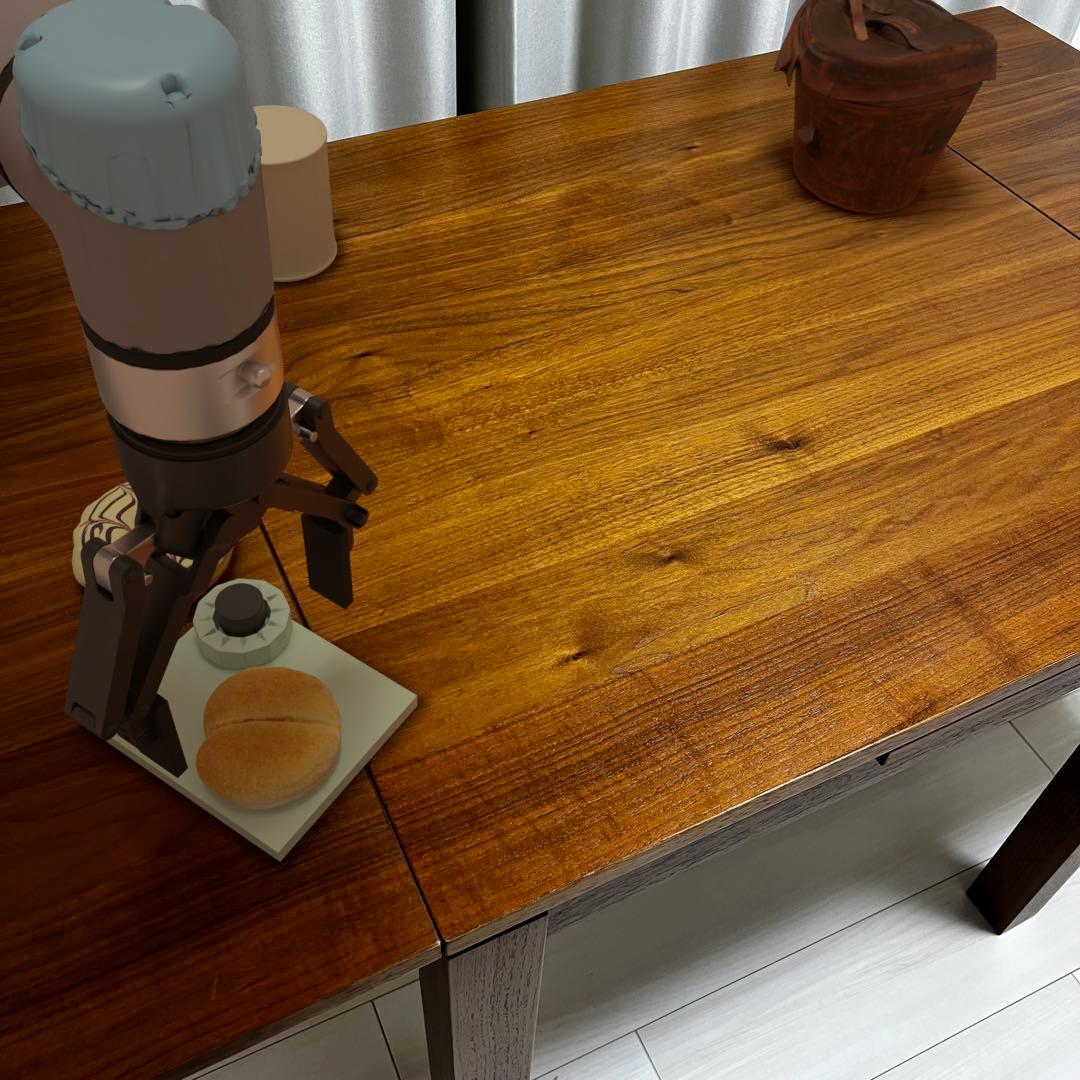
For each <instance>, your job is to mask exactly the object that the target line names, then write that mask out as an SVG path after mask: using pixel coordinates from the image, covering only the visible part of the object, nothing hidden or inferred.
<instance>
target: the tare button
mask: <svg viewBox="0 0 1080 1080" xmlns="http://www.w3.org/2000/svg"><path fill="white" fill-rule="evenodd" d="M215 610H216V614H217V618H218V623H219V626H220V627H221V629H222V630H223V631H224V632H226V633H227V634H229V635H232V636H237V637H242V636H248V635H251V634H253V633H255V632H257V631H258V630H259V629H260V628H261V627H262V626H263V625H264V623H265V620H266V610H265V604H264V599H263V595H262V593H261V591H260V590H259V589H258V588H256V587H255V586H253V585H250V584H246V583H237V584H233V585H230V586H228V587H226V588H224V589H223V590H222V591H221V592H220V593H219V594H218V595H217V597H216V599H215Z"/></svg>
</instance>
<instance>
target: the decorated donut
mask: <svg viewBox="0 0 1080 1080" xmlns="http://www.w3.org/2000/svg"><path fill="white" fill-rule="evenodd" d="M136 511H137V498H136V496H135V494H134V492H133V490H132V488H131V486H130V485H129V483H128V481H127V482H124V483H120V484H118V485H117V486H115V487H114V488H111V489H110V490H108V491H107V492H104V494H103V495H102V496H100V497H99V498H98V499H96V500H95V501H93V502H91V503H90V504H89V505H88V506H86V507H85V509H84V510H83V512H82V514H81V515H80V523H78V525H77V526H76V527H75V528H74V530H73V532H72V542H73V549H72V558H71V567H72V573H73V576H74V579H75V580H76V581H77V583H79V584H80V585H81V586H82V587H84V588H85V584H86V583H85V578H84V573H83V567H82V562H81V557H80V555H81V550H82V547H83V546H84V544H85V543H86V542H87V541H88V540H89V539H91V538H93V537H99V538H101V539H102V540H104V541H106V542H107V543H109V544H112V543H113V542H115V541H116V540H117V539H119V538H120V537H122V536H123V535H125V534H126V533H127V532H129V531H130V530H132V529H133V528H135V527H134V520H135V515H136ZM234 548H235V546H234V547H233V548H232V549H231V550H230V552H229V553H227V554H226V555H225V556H224V557H223V558H222V559H221V560H220V561H219V562H218V565H217V567H216V570H215V573H214V575H213V578H212V580H211V583H210V585H209V588H208V589H207V590H209V589H210V588H211V587H213V585H214V584H215V583H216V582H217V581H218V580H219V579H220V577H221V576H222V575H223V573H224V572H225V571H226V570H227V568H228V567H229V565H230V561H231V558H232V557H233V552H234ZM167 555H168V556H169V557H170V558H171V559H173V560H175V561H176V562H178V563H179V564H181V565H183V566H184V567H186V568H187V569H189V570H190V568H191V565H192V562H193V560H189V559H185V558H182V557H178V556H175V555H171V554H168V553H167ZM205 594H206V592H204V593H200V594H197V595H196V596H195V598H194V600H193V603H195V602H196V601H197V600H198V599H199V598H200V597H201V596H202V595H205Z"/></svg>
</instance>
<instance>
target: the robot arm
mask: <svg viewBox="0 0 1080 1080" xmlns="http://www.w3.org/2000/svg"><path fill="white" fill-rule="evenodd" d="M251 101H252V100H251V97H250V91H249V86H248V81H247V75H246V69H245V64H244V59H243V55H242V53H241V49H240V47H239V45H238V43H237V41H236V40H235V38H234V36H233V35H232V33H231V32H230V30H228V29H227V27H226V26H225V25H224V24H223V23H222V22H221V21H220V20H218V19H217V18H216V17H214V15H211V14H210V13H208V12H207V11H205V10H203V9H201V8H200V7H199V6H197V5H194V4H193V5H192V4H173V3H172V2H171V1H170V0H0V189H1V188H4V187H8V186H9V187H10V188H11V189H12V190H13V191H14V192H15V193H16V194H17V195H18V197H19V198H20V199H21V200H23V201H24V202H25V203H26V204H28V205H29V206H30V207H31V208H32V209H33V210H34V211H35V212H36V213H37V215H38V216H39V217H40V218H41V219H42V220H43V221H44V222H45V224H46V226H48V228H49V229H50V231H51V233H52V235H53V238H54V240H55V242H56V244H57V246H58V250H59V253H60V255H61V259H62V262H63V266H64V269H65V272H66V276H67V279H68V282H69V285H70V288H71V293H72V295H73V299H74V302H75V305H76V306H75V307H76V310H77V314H78V317H79V321H80V325H81V329H82V333H83V336H84V341H85V344H86V348H87V351H88V355H89V359H90V364H91V367H92V371H93V375H94V379H95V382H96V386H97V387H96V388H97V390H98V394H99V398H100V399H101V402H102V403H103V405H104V407H105V412H106V418H107V423H108V425H109V429H110V433H111V436H112V440H113V443H114V448H115V450H116V453H117V457H118V461H119V464H120V467H121V470H122V473H123V475H124V477H125V479H126V481H127V482H128V483H129V485H130V486H131V488H132V490H133V492H134V494H135V496H136V498H137V511H136V515H135V520H134V527H135V528H133V529H132V530H130V531H129V532H127V533H126V534H125V535H123V536H122V537H120V538H119V539H117V540H116V541H115V542H113V543H112V544H109V543H107V542H106V541H104V540H102V539H101V538H99V537H93V538H91V539H89V540H88V541H87V542H86V543H85V544H84V546H83V547H82V550H81V555H80V557H81V562H82V567H83V573H84V578H85V583H86V584H85V587H84V590H83V596H82V601H81V607H80V613H79V619H78V625H77V631H76V636H75V642H74V647H73V655H72V660H71V665H70V672H69V676H68V681H67V682H68V683H67V689H66V695H65V699H64V700H65V701H64V704H63V705H64V706H63V712H64V714H65V715H66V716H68V717H69V718H71V719H72V720H73V721H75V722H76V723H77V724H79V725H80V726H82V727H83V728H85V729H86V730H88V731H89V732H90V733H91V734H93V735H95V737H98V738H99V739H100V740H102V741H105V742H107V740H110V739H111V738H113V737H114V736H115V735H116V734H118V736H120V737H121V738H123V739H124V740H125V741H127V742H128V743H130V744H131V745H133V746H134V747H135V748H137V749H138V750H139V751H140V752H141V753H142V754H143V755H145V756H146V757H148V758H149V759H151V760H152V761H153V762H155V763H156V764H158V765H159V766H161V767H162V768H163V769H165V770H166V771H168V772H169V773H171V774H172V775H174V776H175V777H176V778H179V777H180V776H181V775H182V774H183V773H184V772H185V771H186V770H187V769H188V766H187V763H186V759H185V756H184V753H183V750H182V746H181V743H180V740H179V736H178V733H177V730H176V727H175V723H174V720H173V717H172V713H171V710H170V707H169V704H168V700H166V699H165V698H163V697H162V696H160V695H159V694H158V693H157V692H158V689H159V687H160V684H161V682H162V679H163V677H164V674H165V671H166V669H167V666H168V664H169V661H170V659H171V656H172V654H173V651H174V649H175V646H176V643H177V641H178V640H179V639H180V636H181V633H182V631H183V628H184V625H185V623H186V620H187V618H188V615H189V613H190V610H191V607H192V605H193V603H194V602H193V600H194V598H195V596H196V595H197V594H200V593H204V592H205V593H206V592H207V591H208V590H209V589H210V588H209V585H210V583H211V580H212V578H213V575H214V573H215V570H216V567H217V565H218V562H219V561H220V560H221V559H222V558H223V557H224V556H225V555H226V554H227V553H229V552H230V550H231V549H232V548H233V547H234V548H235V545H236V544H238V542H239V541H240V540H241V539H242V538H244V537H246V536H248V535H250V534H251V533H252V532H254V531H255V530H256V529H257V528H259V526H260V525H261V524H263V517H264V516H265V515H266V513H267V511H268V509H272V508H273V509H278V510H282V511H285V512H289V513H294V512H300V513H301V514H300V520H301V521H300V522H301V530H302V537H303V546H304V553H305V561H306V562H305V563H306V570H307V576H308V585H309V589H310V590H312V591H313V592H315V593H317V594H319V595H320V596H322V597H323V598H325V599H327V600H328V601H330V602H331V603H333V604H335V605H337V606H338V607H339V608H342V609H343V610H347V609H349V607H350V606H351V605H352V604H353V603H354V602H355V601H354V589H353V576H352V575H353V574H352V565H351V564H352V562H351V552H352V550H353V548H354V543H355V538H354V529H356V530H361V529H362V528H363V527H364V526H365V525H366V524H367V522H368V521H369V520H368V519H369V517H370V511H369V510H368V509H367V508H365V507H363V506H361V505H360V504H358V503H357V502H358V500H359V498H360V497H361V496H362V494H363V496H364V495H365V496H367V497H368V496H370V495H372V494H373V493H374V492H375V490H376V489H377V487H378V484H379V477H378V476H377V475H376V473H374V472H373V470H372V469H371V468H370V467H369V466H368V464H367V463H366V462H365V461H364V459H362V458H361V456H360V455H359V454H358V453H357V452H356V451H355V450H354V448H353V447H352V446H351V445H350V444H349V442H348V441H347V440H346V439H345V438H344V436H343V435H342V434H341V433H340V432H339V430H337V429H336V427H335V421H334V417H333V413H332V407H331V404H330V403H329V402H328V401H326V400H324V399H323V398H321V397H319V396H317V395H315V394H313V393H311V392H310V391H309V390H307V389H305V388H302V387H301V386H298V385H297V384H294V383H293V382H291V381H285V378H284V373H285V372H284V370H285V369H284V367H285V366H284V359H283V350H282V343H281V335H280V326H279V317H278V309H277V302H276V301H277V300H276V295H275V282H273V272H272V263H271V253H270V244H269V234H268V225H267V215H266V205H265V196H264V186H263V177H262V167H261V156H262V146H261V134H260V130H259V129H257V128H256V126H257V116H256V113H255V111H254V108H253V107H254V106H253V104H252V102H251ZM294 441H295V442H298V443H299V444H300V446H302V447H303V449H305V451H307V453H308V454H309V455H310V456H312V457H313V459H314V460H315V461H317V463H318V464H319V465H320V466H321V467H322V468H323V469H324V470H325V471H326V472H327V474H329V476H331V477H332V478H331V479H330V480H329V482H328V483H327V485H324V484H322V483H320V482H316V481H313V480H309V479H306V478H302V477H299V476H296V475H293V474H290V473H286V472H284V471H285V470H286V467H287V466H288V465H289V463H290V459H291V457H292V453H293V449H294ZM234 548H233V549H234ZM167 553H168V554H171V555H175V556H178V557H182V558H185V559H189V560H193V562H192V565H191V568H190V570H189V569H187V568H186V567H184V566H183V565H181V564H179V563H178V562H176V561H175V560H173V559H171V558H170V557H169V556H168V555H167ZM208 588H209V589H208ZM205 593H204V594H205Z"/></svg>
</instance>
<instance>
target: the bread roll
mask: <svg viewBox="0 0 1080 1080" xmlns="http://www.w3.org/2000/svg"><path fill="white" fill-rule="evenodd" d="M203 727H204V733H205V737H206V739H205V741H204V742H203V743H202V745H201V746H200V748H199V750H198V752H197V754H196V765H195V766H196V769H197V773H198V775H199V777H200V779H201V780H202V781H203V782H204V784H205V785H206V786H207V787H208V788H209V789H211V790H212V791H213V792H214V793H216V794H217V795H218V796H220V797H221V798H223V799H225V800H227V801H229V802H231V803H233V804H236V805H238V806H241V807H244V808H247V809H252V810H263V809H270V808H275V807H280V806H283V805H285V804H288V803H290V802H293V801H295V800H297V799H299V798H300V797H302V796H304V795H306V794H307V793H309V792H310V791H311V790H313V789H314V788H315V787H317V786H318V785H319V784H320V783H321V782H322V781H323V780H324V779H325V777H326V776H327V775H328V773H329V772H330V770H331V769H332V766H333V764H334V762H335V761H336V759H337V755H338V753H339V750H340V746H341V718H340V712H339V709H338V706H337V703H336V701H335V699H334V697H333V695H332V693H331V691H330V689H329V688H328V687H327V686H326V685H325V684H324V683H323V682H321V681H320V680H319V679H318V678H316V677H314V676H312V675H309V674H307V673H304V672H301V671H297V670H292V669H289V668H286V667H252V668H248V669H245V670H243V671H242V672H239V673H237V674H235V675H233V676H231V677H229V678H228V679H226V680H225V681H224V682H222V683H221V684H220V685H219V686H218V687H217V688H216V689H215V690H214V692H213V693H212V694H211V696H210V698H209V700H208V702H207V704H206V707H205V710H204V718H203Z"/></svg>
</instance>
